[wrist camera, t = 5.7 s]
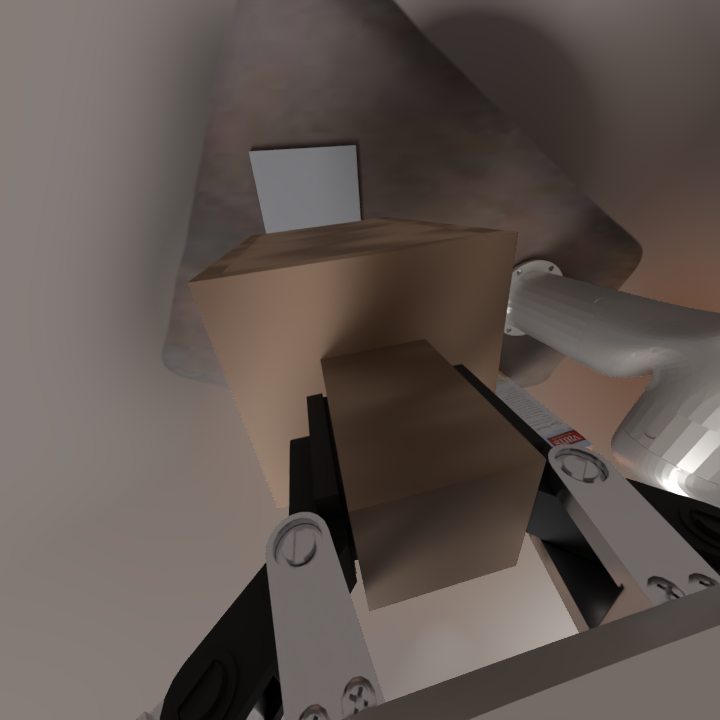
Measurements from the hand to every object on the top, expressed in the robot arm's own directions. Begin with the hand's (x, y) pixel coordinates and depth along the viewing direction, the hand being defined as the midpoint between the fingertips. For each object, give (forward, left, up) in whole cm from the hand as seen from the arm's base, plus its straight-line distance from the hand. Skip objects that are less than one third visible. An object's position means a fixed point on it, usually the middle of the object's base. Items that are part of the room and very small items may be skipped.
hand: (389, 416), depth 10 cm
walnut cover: (0, 0, -17) cm, 17 cm away
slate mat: (0, -6, -33) cm, 34 cm away
